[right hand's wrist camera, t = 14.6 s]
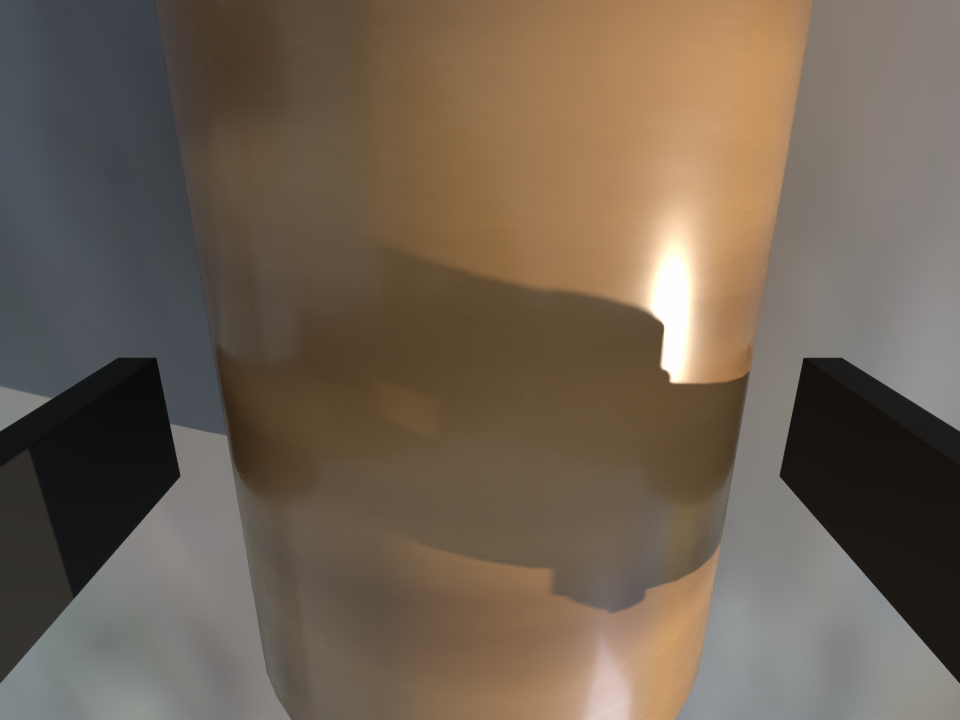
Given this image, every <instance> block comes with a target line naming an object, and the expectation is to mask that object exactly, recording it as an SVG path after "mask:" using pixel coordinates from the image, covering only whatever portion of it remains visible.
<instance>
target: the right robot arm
mask: <svg viewBox="0 0 960 720" xmlns="http://www.w3.org/2000/svg"><path fill="white" fill-rule="evenodd" d="M179 477H180V471H179V467H178V462H177V457H176V452H175V447H174V442H173V437H172V432H171V427H170V422H169V418H168V413H167V408H166V403H165V398H164V393H163V388H162V383H161V378H160V373H159V369H158V364H157V359H156V358H117V359H116V360H114V361H112V362H111V363H109V364H108V365H106V366H104V367H103V368H101V369H100V370H98V371H96V372H95V373H93V374H92V375H90V376H88V377H87V378H85V379H84V380H82V381H80V382H79V383H77V384H76V385H74V386H72V387H71V388H69V389H68V390H66V391H64V392H63V393H61V394H60V395H58V396H56V397H55V398H53V399H52V400H50V401H48V402H47V403H45V404H44V405H42V406H40V407H39V408H37V409H36V410H34V411H32V412H31V413H29V414H28V415H26V416H24V417H23V418H21V419H20V420H18V421H16V422H15V423H13V424H12V425H10V426H8V427H7V428H5V429H3V430H2V431H0V683H1V682H2V681H3V680H4V678H5V677H6V676H7V675H8V674H9V673H10V672H11V670H12V669H13V668H14V667H15V666H16V665H17V663H18V662H19V661H20V660H21V659H22V658H23V657H24V655H25V654H26V653H27V652H28V651H29V650H30V649H31V647H32V646H33V645H34V644H35V643H36V642H37V641H38V639H39V638H40V637H41V636H42V635H43V634H44V632H45V631H46V630H47V629H48V628H49V627H50V626H51V624H52V623H53V622H54V621H55V620H56V619H57V618H58V616H59V615H60V614H61V613H62V612H63V611H64V609H65V608H66V607H67V606H68V605H69V604H70V603H71V601H72V600H73V599H74V598H75V597H76V596H77V595H78V593H79V592H80V591H81V590H82V589H83V588H84V586H85V585H86V584H87V583H88V582H89V581H90V580H91V578H92V577H93V576H94V575H95V574H96V573H97V572H98V570H99V569H100V568H101V567H102V566H103V565H104V564H105V562H106V561H107V560H108V559H109V558H110V557H111V555H112V554H113V553H114V552H115V551H116V550H117V549H118V547H119V546H120V545H121V544H122V543H123V542H124V541H125V539H126V538H127V537H128V536H129V535H130V534H131V532H132V531H133V530H134V529H135V528H136V527H137V526H138V524H139V523H140V522H141V521H142V520H143V519H144V518H145V516H146V515H147V514H148V513H149V512H150V511H151V510H152V508H153V507H154V506H155V505H156V504H157V503H158V501H159V500H160V499H161V498H162V497H163V496H164V495H165V493H166V492H167V491H168V490H169V489H170V488H171V487H172V485H173V484H174V483H175V482H176V481H177V480H178V478H179ZM780 477H781V478H782V480H783V481H784V482H785V483H786V484H787V485H788V487H789V488H790V489H791V490H792V491H793V492H794V493H795V495H796V496H797V497H798V498H799V499H800V500H801V501H802V503H803V504H804V505H805V506H806V507H807V508H808V510H809V511H810V512H811V513H812V514H813V515H814V516H815V518H816V519H817V520H818V521H819V522H820V523H821V524H822V526H823V527H824V528H825V529H826V530H827V531H828V532H829V534H830V535H831V536H832V537H833V538H834V539H835V541H836V542H837V543H838V544H839V545H840V546H841V547H842V549H843V550H844V551H845V552H846V553H847V554H848V555H849V557H850V558H851V559H852V560H853V561H854V562H855V564H856V565H857V566H858V567H859V568H860V569H861V570H862V572H863V573H864V574H865V575H866V576H867V577H868V578H869V580H870V581H871V582H872V583H873V584H874V585H875V587H876V588H877V589H878V590H879V591H880V592H881V593H882V595H883V596H884V597H885V598H886V599H887V600H888V601H889V603H890V604H891V605H892V606H893V607H894V608H895V609H896V611H897V612H898V613H899V614H900V615H901V616H902V618H903V619H904V620H905V621H906V622H907V623H908V624H909V626H910V627H911V628H912V629H913V630H914V631H915V632H916V634H917V635H918V636H919V637H920V638H921V639H922V641H923V642H924V643H925V644H926V645H927V646H928V647H929V649H930V650H931V651H932V652H933V653H934V654H935V655H936V657H937V658H938V659H939V660H940V661H941V662H942V663H943V665H944V666H945V667H946V668H947V669H948V670H949V672H950V673H951V674H952V675H953V676H954V677H955V678H956V680H957V681H958V682H959V683H960V431H958V430H956V429H955V428H953V427H952V426H950V425H948V424H947V423H945V422H944V421H942V420H940V419H939V418H937V417H936V416H934V415H932V414H931V413H929V412H928V411H926V410H924V409H923V408H921V407H920V406H918V405H916V404H915V403H913V402H912V401H910V400H908V399H907V398H905V397H904V396H902V395H900V394H899V393H897V392H896V391H894V390H892V389H891V388H889V387H888V386H886V385H884V384H883V383H881V382H880V381H878V380H876V379H875V378H873V377H872V376H870V375H868V374H867V373H865V372H864V371H862V370H860V369H859V368H857V367H856V366H854V365H852V364H851V363H849V362H848V361H846V360H844V359H843V358H804V359H803V364H802V369H801V373H800V378H799V383H798V388H797V393H796V398H795V403H794V408H793V413H792V418H791V422H790V427H789V432H788V437H787V442H786V447H785V452H784V457H783V462H782V467H781V471H780Z"/></svg>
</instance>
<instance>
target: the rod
mask: <svg viewBox="0 0 960 720" xmlns="http://www.w3.org/2000/svg"><path fill="white" fill-rule="evenodd" d="M154 1H155V7H156V13H157V19H158V25H159V31H160V37H161V43H162V49H163V55H164V61H165V67H166V73H167V79H168V85H169V91H170V97H171V103H172V109H173V115H174V121H175V127H176V133H177V139H178V145H179V151H180V157H181V163H182V169H183V175H184V181H185V187H186V193H187V199H188V205H189V211H190V217H191V223H192V229H193V235H194V241H195V247H196V253H197V259H198V265H199V271H200V277H201V283H202V289H203V295H204V301H205V307H206V313H207V319H208V325H209V331H210V337H211V343H212V349H213V355H214V361H215V367H216V373H217V379H218V385H219V391H220V397H221V403H222V409H223V415H224V421H225V426H226V432H227V438H228V444H229V450H230V456H231V462H232V468H233V474H234V480H235V486H236V492H237V498H238V504H239V510H240V516H241V522H242V528H243V534H244V540H245V546H246V552H247V558H248V564H249V570H250V576H251V582H252V588H253V594H254V600H255V606H256V612H257V618H258V624H259V630H260V636H261V642H262V648H263V654H264V659H265V664H266V670H267V673H268V676H269V679H270V681H271V684H272V686H273V689H274V691H275V694H276V696H277V698H278V699H279V701H280V703H281V704H282V706H283V707H284V709H285V711H286V712H287V714H288V715H289V717H290V718H291V720H674V719H675V718H676V716H677V715H678V713H679V712H680V710H681V709H682V707H683V705H684V704H685V702H686V701H687V699H688V697H689V695H690V692H691V690H692V687H693V685H694V682H695V680H696V677H697V675H698V671H699V666H700V660H701V655H702V650H703V644H704V638H705V632H706V627H707V621H708V615H709V609H710V603H711V597H712V592H713V586H714V580H715V574H716V568H717V562H718V557H719V551H720V545H721V539H722V533H723V527H724V522H725V516H726V510H727V504H728V498H729V492H730V487H731V481H732V475H733V469H734V463H735V457H736V452H737V446H738V440H739V434H740V428H741V422H742V416H743V411H744V405H745V399H746V393H747V387H748V381H749V376H750V370H751V364H752V358H753V352H754V346H755V341H756V335H757V329H758V323H759V317H760V311H761V306H762V300H763V294H764V288H765V282H766V276H767V271H768V265H769V259H770V253H771V247H772V241H773V236H774V230H775V224H776V218H777V212H778V206H779V201H780V195H781V189H782V183H783V177H784V171H785V166H786V160H787V154H788V148H789V142H790V136H791V131H792V125H793V119H794V113H795V107H796V101H797V96H798V90H799V84H800V78H801V72H802V66H803V61H804V55H805V49H806V43H807V37H808V31H809V26H810V20H811V14H812V8H813V2H814V0H154Z"/></svg>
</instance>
